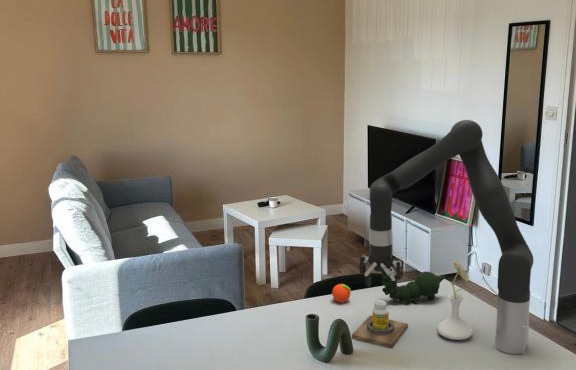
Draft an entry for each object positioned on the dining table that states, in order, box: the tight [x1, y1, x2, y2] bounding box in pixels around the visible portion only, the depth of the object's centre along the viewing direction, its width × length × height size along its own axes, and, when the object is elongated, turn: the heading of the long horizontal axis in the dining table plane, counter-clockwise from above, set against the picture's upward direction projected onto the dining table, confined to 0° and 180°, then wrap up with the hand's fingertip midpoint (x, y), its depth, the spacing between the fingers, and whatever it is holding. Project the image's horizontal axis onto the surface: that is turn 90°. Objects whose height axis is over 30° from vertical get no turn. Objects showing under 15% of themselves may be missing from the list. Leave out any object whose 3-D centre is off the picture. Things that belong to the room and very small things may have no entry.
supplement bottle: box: [372, 299, 390, 330], centre depth 189 cm, size 5×5×10 cm
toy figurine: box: [380, 257, 447, 305], centre depth 213 cm, size 9×19×25 cm
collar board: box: [351, 315, 409, 349], centre depth 190 cm, size 14×16×3 cm
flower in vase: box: [436, 260, 473, 341], centre depth 186 cm, size 13×11×25 cm
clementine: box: [331, 283, 352, 303], centre depth 215 cm, size 8×7×7 cm
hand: (380, 288), depth 187 cm, fingers open, 8 cm apart
